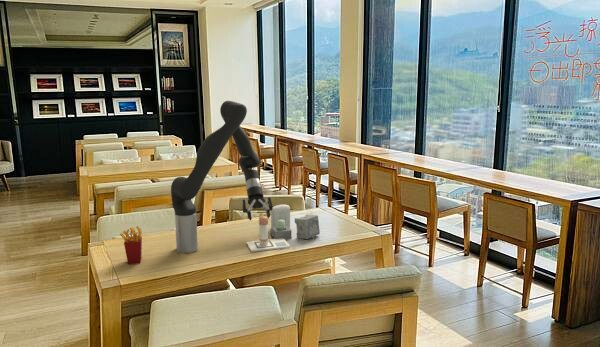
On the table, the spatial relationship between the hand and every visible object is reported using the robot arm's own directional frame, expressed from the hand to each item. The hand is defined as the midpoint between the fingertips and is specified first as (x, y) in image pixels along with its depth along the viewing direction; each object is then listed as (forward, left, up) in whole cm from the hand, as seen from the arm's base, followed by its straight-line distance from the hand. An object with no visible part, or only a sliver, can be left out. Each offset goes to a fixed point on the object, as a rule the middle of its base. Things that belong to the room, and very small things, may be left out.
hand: (259, 218), depth 223 cm
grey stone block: (+23, -3, -11) cm, 25 cm away
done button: (+11, +1, -8) cm, 14 cm away
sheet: (+2, -9, -10) cm, 14 cm away
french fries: (-57, -9, -11) cm, 59 cm away
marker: (0, -9, -10) cm, 13 cm away
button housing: (+11, +1, -10) cm, 15 cm away
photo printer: (+14, +13, -11) cm, 22 cm away
